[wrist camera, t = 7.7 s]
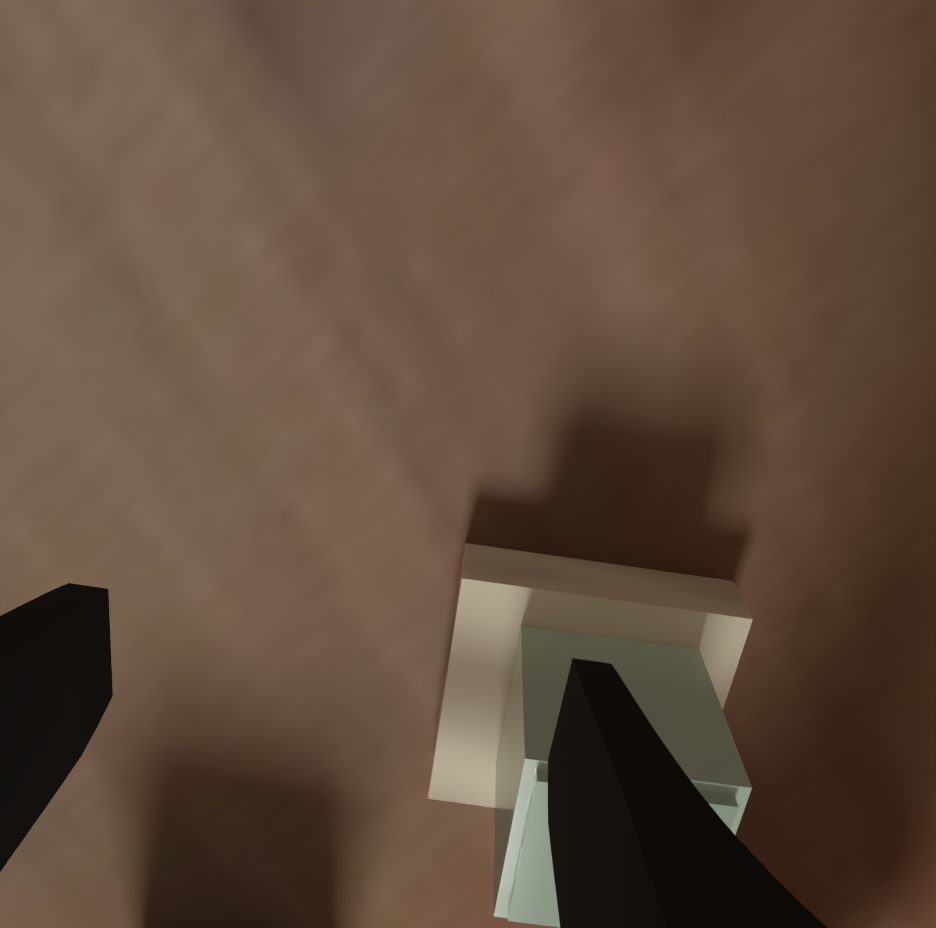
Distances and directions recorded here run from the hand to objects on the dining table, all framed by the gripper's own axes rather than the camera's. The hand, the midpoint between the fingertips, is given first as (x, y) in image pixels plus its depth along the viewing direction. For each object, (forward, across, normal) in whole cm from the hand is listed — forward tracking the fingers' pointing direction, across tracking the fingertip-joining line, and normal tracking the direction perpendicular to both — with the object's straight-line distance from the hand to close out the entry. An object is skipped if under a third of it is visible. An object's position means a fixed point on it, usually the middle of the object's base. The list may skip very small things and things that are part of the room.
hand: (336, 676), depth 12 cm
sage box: (+8, -6, +7) cm, 12 cm away
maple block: (+11, -6, +7) cm, 14 cm away
